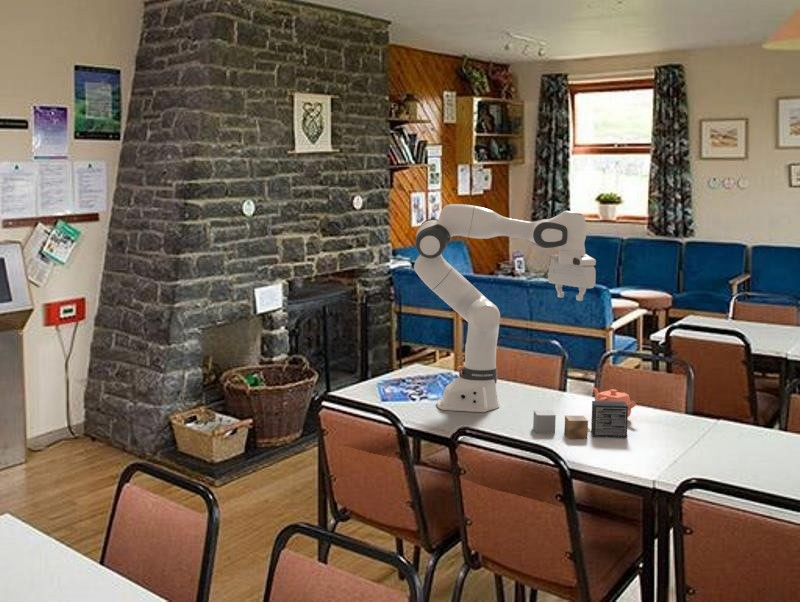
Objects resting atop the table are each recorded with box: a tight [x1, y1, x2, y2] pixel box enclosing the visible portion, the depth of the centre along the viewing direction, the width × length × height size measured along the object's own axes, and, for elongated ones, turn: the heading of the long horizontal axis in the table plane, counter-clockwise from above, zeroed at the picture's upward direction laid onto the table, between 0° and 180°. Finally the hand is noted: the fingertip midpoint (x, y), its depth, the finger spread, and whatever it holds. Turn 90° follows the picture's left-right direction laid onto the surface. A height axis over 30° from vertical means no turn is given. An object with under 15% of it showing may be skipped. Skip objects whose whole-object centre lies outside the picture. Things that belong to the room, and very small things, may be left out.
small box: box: [590, 400, 629, 439], centre depth 256 cm, size 11×6×10 cm, turn 85°
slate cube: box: [532, 409, 556, 434], centre depth 260 cm, size 6×6×6 cm
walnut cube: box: [563, 415, 589, 440], centre depth 254 cm, size 6×6×6 cm
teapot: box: [591, 386, 637, 418], centre depth 275 cm, size 14×12×10 cm
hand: (569, 298), depth 277 cm, fingers open, 8 cm apart
